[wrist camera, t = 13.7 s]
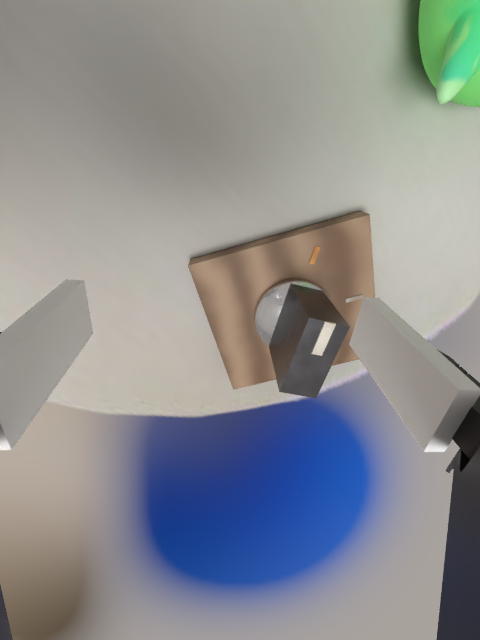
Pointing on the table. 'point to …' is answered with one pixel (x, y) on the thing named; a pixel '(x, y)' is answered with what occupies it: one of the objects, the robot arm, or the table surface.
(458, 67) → the toy bird
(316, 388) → the dial
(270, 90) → the table surface
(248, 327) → the dial panel
